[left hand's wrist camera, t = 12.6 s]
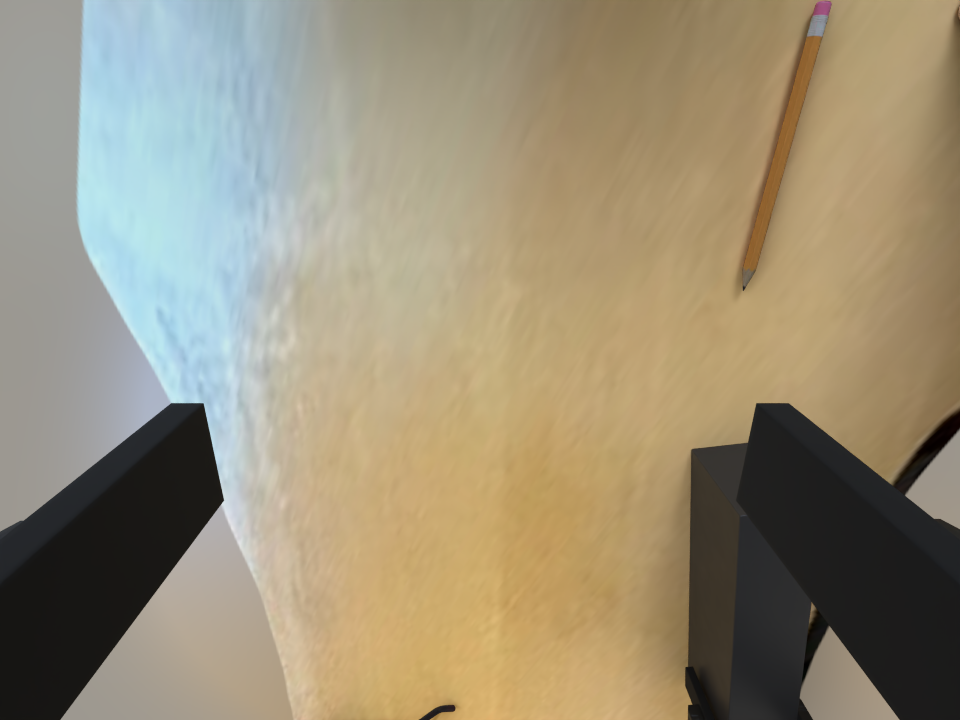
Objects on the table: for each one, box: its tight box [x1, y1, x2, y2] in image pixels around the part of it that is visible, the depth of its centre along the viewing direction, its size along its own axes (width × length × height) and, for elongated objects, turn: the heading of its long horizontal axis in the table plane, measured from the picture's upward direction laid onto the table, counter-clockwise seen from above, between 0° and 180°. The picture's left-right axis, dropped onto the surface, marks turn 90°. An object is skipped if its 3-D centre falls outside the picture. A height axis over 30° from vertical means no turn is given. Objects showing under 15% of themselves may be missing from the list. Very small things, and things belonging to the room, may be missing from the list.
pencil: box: [743, 1, 831, 291], centre depth 37 cm, size 1×1×19 cm
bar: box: [688, 443, 811, 720], centre depth 47 cm, size 29×6×10 cm, turn 8°
